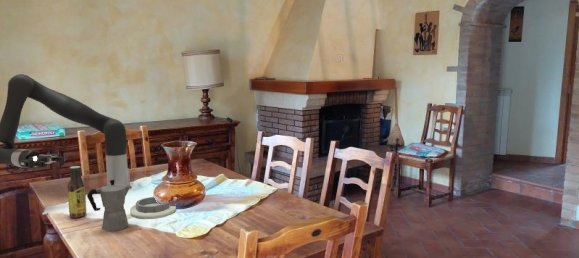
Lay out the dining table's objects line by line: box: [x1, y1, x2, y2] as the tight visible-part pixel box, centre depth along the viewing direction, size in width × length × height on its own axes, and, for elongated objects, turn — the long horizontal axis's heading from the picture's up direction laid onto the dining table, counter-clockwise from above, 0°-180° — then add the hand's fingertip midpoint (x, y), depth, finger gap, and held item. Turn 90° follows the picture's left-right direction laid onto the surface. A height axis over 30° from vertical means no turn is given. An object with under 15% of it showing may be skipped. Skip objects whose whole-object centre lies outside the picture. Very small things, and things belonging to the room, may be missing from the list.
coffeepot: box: [86, 180, 132, 232], centre depth 167 cm, size 15×9×18 cm, turn 122°
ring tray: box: [129, 196, 177, 220], centre depth 186 cm, size 18×18×4 cm
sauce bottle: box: [67, 165, 87, 219], centre depth 180 cm, size 7×6×20 cm
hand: (53, 162), depth 183 cm, fingers open, 8 cm apart
